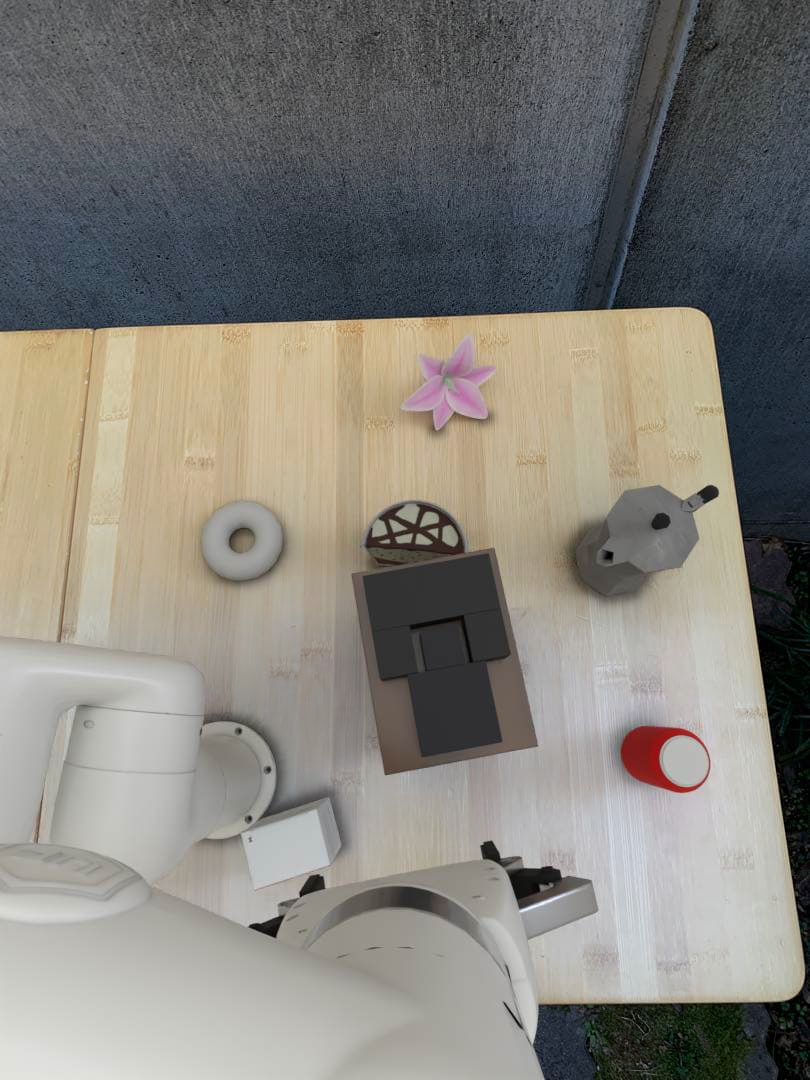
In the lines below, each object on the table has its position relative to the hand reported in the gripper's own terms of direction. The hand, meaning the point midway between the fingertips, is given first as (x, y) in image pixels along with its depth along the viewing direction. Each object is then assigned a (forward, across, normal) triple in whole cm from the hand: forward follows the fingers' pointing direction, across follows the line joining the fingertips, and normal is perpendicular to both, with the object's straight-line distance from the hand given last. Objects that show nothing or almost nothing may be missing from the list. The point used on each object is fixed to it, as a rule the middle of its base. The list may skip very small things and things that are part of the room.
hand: (406, 887), depth 38 cm
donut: (+40, -15, +33) cm, 54 cm away
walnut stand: (+40, +5, +13) cm, 43 cm away
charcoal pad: (+13, +5, +11) cm, 18 cm away
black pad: (+13, +5, +16) cm, 21 cm away
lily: (+39, +11, +53) cm, 66 cm away
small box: (+40, -13, -1) cm, 42 cm away
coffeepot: (+40, +30, +23) cm, 55 cm away
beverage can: (+40, +27, 0) cm, 49 cm away
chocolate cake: (+40, +6, +29) cm, 50 cm away
